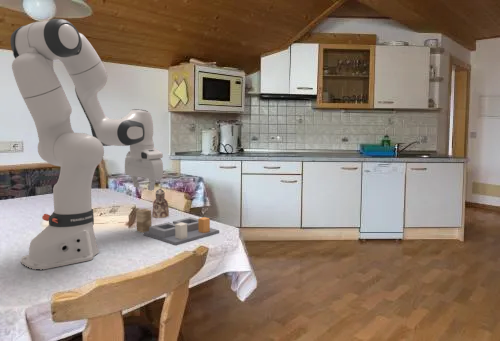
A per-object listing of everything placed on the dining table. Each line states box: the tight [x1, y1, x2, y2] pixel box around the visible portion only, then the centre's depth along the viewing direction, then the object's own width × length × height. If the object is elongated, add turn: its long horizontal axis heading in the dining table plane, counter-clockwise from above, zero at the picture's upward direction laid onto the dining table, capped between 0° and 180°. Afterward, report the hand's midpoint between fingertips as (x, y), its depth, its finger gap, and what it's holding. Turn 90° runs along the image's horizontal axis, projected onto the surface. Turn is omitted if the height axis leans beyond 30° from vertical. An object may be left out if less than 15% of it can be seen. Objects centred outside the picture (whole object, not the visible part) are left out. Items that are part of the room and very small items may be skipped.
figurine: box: [151, 188, 170, 219], centre depth 187 cm, size 7×7×12 cm
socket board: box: [143, 216, 220, 246], centre depth 160 cm, size 21×19×6 cm
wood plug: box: [135, 208, 153, 233], centre depth 164 cm, size 4×4×8 cm
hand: (143, 188), depth 162 cm, fingers open, 8 cm apart
